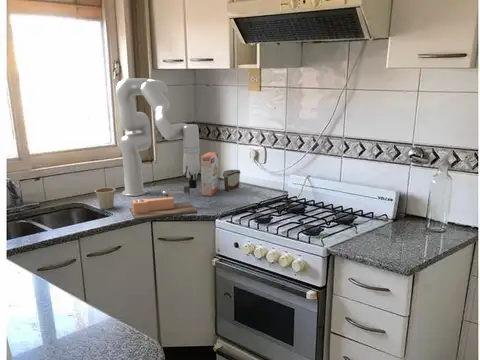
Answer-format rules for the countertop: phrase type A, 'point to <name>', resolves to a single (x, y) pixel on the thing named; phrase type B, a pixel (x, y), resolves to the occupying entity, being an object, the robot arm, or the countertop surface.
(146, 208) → the link
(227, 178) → the food container
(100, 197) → the flower pot
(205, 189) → the cracker box
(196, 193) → the countertop surface
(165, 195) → the hardware
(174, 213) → the board
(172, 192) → the keeper
